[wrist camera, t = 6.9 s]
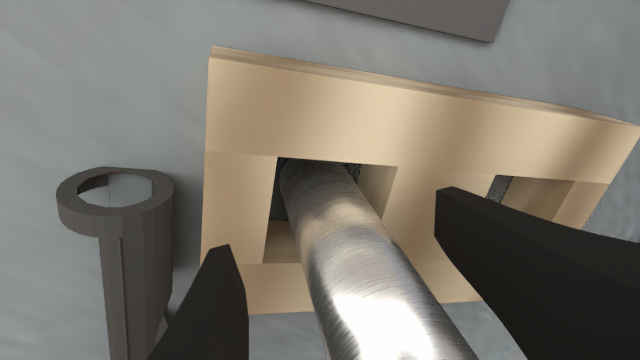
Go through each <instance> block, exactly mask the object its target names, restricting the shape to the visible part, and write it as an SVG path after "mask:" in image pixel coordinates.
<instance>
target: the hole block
mask: <svg viewBox="0 0 640 360" xmlns="http://www.w3.org/2000/svg"><path fill="white" fill-rule="evenodd" d="M639 138H640V126H637V125H634V124H631V123H627V122H624V121H621V120H617V119H614V118H610V117H607V116H604V115H600V114H597V113H594V112H590V111H587V110H583V109H579V108H573V107H567V106H561V105H555V104H550V103H544V102H538V101H532V100H526V99H521V98H515V97H509V96H503V95H497V94H491V93H486V92H480V91H474V90H468V89H462V88H457V87H451V86H445V85H439V84H433V83H428V82H422V81H416V80H410V79H404V78H399V77H393V76H387V75H381V74H375V73H370V72H364V71H358V70H352V69H346V68H341V67H335V66H329V65H323V64H317V63H311V62H306V61H300V60H294V59H288V58H282V57H277V56H271V55H265V54H259V53H253V52H248V51H242V50H236V49H230V48H224V47H219V46H213V48H212V51H211V53H210V56H209V68H208V92H207V115H206V139H205V163H204V187H203V211H202V235H201V258H200V267H201V265H202V263H203V261H204V259H205V256H206V254H207V252H208V251H209V249H210V248H214V247H218V246H222V245H226V244H230V247H231V250H232V253H233V256H234V258H235V261H236V264H237V267H238V270H239V272H240V275H241V278H242V281H243V284H244V286H245V291H246V299H247V307H248V315H256V314H273V313H289V312H306V311H314V307H313V304H312V300H311V297H310V293H309V290H308V286H307V283H306V279H305V276H304V272H303V269H302V265H301V261H300V258H299V254H298V251H297V247H296V244H295V240H294V237H293V233H292V230H291V226H290V223H289V221H279V220H268V219H269V212H270V206H271V199H272V192H273V185H274V178H275V171H276V164H277V157H287V158H300V159H312V160H324V161H337V162H349V163H361V164H362V166H361V170H360V174H359V178H358V181H357V187H358V188H359V189H360V191H361V192H362V194H363V195H364V197H365V198H366V199H367V201H368V202H369V204H370V205H371V207H372V208H373V209H374V211H375V212H376V214H377V215H378V217H379V218H380V219H381V221H382V222H383V224H384V225H385V227H386V228H387V229H388V231H389V232H390V234H391V235H392V236H393V238H394V239H395V241H396V242H397V244H398V245H399V246H400V248H401V249H402V251H403V252H404V254H405V255H406V256H407V258H408V259H409V261H410V262H411V264H412V265H413V266H414V268H415V269H416V271H417V272H418V274H419V275H420V276H421V278H422V279H423V281H424V282H425V283H426V285H427V286H428V288H429V289H430V291H431V292H432V293H433V295H434V296H435V298H436V299H437V301H438V302H439V303H455V302H471V301H484V300H483V299H482V298H481V297H480V295H479V294H478V293H477V292H476V291H475V290H474V288H473V287H472V286H471V285H470V284H469V283H468V281H467V280H466V279H465V278H464V277H463V276H462V274H461V273H460V272H459V271H458V270H457V268H456V267H455V266H454V265H453V264H452V262H451V261H450V260H449V259H448V257H447V256H446V254H445V253H444V251H443V250H442V248H441V247H440V245H439V243H438V242H437V240H436V239H435V237H434V221H435V201H436V190H438V189H442V188H446V187H450V186H454V187H457V188H460V189H463V190H466V191H468V192H471V193H474V194H476V195H479V196H482V197H484V198H485V197H486V195H487V193H488V190H489V188H490V186H491V184H492V182H493V179H494V177H495V175H508V176H514V177H513V179H512V181H511V183H510V185H509V187H508V189H507V191H506V193H505V195H504V197H503V199H502V201H501V203H500V204H503V205H505V206H508V207H511V208H513V209H516V210H519V211H522V212H524V213H527V214H530V215H533V216H536V217H539V218H542V219H545V220H548V221H551V222H554V223H558V224H561V225H565V226H568V227H572V228H575V229H579V230H581V229H582V227H583V226H584V224H585V223H586V221H587V220H588V218H589V216H590V215H591V213H592V212H593V210H594V208H595V207H596V205H597V204H598V202H599V201H600V199H601V197H602V196H603V194H604V193H605V191H606V190H607V188H608V186H609V185H610V183H611V182H612V180H613V179H614V177H615V175H616V174H617V172H618V171H619V169H620V167H621V166H622V164H623V163H624V161H625V160H626V158H627V156H628V155H629V153H630V152H631V150H632V149H633V147H634V145H635V144H636V142H637V141H638V139H639Z"/></svg>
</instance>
